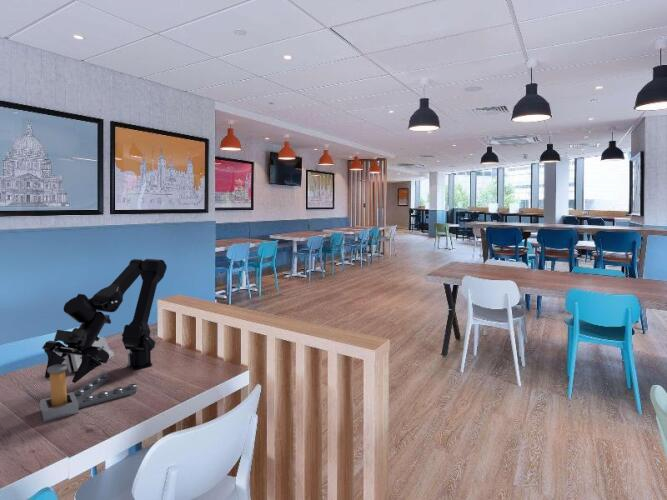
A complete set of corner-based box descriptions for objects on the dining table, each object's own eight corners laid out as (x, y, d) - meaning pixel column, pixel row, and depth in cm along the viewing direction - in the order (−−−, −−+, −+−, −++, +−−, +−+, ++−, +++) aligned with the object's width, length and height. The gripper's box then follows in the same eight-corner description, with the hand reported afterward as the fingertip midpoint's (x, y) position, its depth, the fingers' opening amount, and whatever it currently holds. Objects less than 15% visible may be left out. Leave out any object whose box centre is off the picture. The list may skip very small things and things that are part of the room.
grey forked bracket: (123, 374, 140) (123, 365, 140) (140, 395, 125) (140, 386, 125) (36, 394, 124) (35, 385, 124) (44, 422, 110) (43, 411, 109)
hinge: (81, 374, 139) (71, 346, 138) (70, 377, 140) (60, 350, 139) (115, 356, 155) (107, 331, 155) (105, 359, 156) (96, 334, 156)
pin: (60, 406, 118) (57, 363, 116) (73, 408, 117) (71, 365, 115) (45, 414, 113) (43, 369, 112) (59, 416, 112) (57, 371, 111)
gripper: (45, 314, 120) (11, 365, 110) (100, 320, 115) (69, 373, 106) (70, 331, 128) (40, 380, 119) (121, 337, 124) (94, 388, 115)
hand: (59, 380), depth 115 cm, fingers open, 9 cm apart
